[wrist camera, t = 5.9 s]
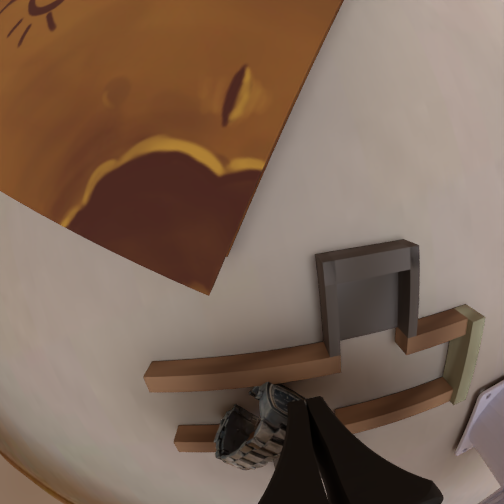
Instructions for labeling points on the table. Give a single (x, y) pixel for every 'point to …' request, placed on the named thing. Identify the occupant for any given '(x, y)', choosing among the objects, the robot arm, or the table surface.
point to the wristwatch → (255, 428)
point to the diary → (150, 117)
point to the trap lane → (340, 328)
